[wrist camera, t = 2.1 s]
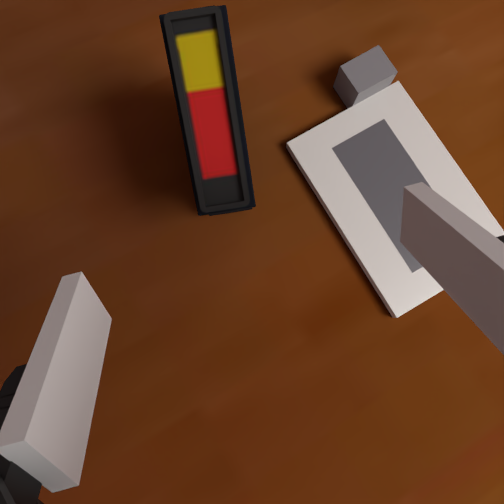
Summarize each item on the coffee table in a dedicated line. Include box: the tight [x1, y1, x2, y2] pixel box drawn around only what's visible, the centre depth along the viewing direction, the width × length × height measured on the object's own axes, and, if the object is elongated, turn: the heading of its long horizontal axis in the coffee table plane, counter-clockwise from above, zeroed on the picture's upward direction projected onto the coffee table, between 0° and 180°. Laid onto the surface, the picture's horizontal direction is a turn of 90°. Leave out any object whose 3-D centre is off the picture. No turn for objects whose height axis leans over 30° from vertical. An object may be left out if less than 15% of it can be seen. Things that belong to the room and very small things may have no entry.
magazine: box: [159, 5, 256, 216], centre depth 28 cm, size 4×13×15 cm, turn 9°
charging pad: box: [286, 45, 504, 318], centre depth 31 cm, size 21×12×3 cm, turn 30°
